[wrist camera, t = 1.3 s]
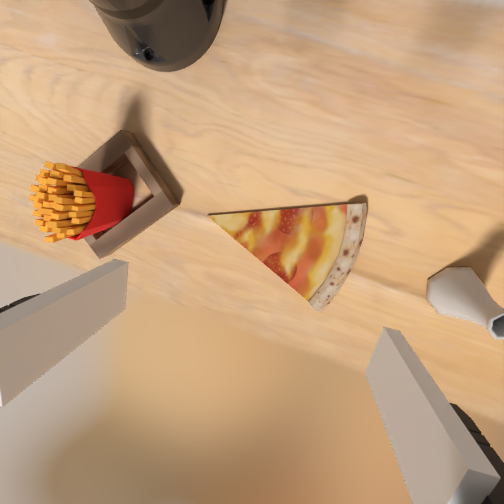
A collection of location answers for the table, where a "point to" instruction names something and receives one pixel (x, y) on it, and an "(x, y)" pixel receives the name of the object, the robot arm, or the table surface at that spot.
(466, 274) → the flask
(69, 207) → the french fries
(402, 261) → the table surface
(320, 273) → the pizza slice
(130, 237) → the fry holder
